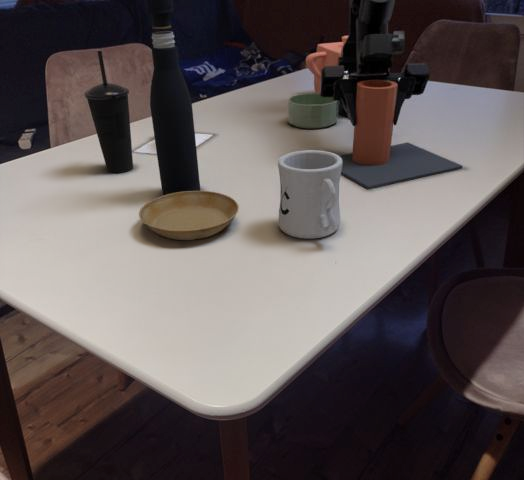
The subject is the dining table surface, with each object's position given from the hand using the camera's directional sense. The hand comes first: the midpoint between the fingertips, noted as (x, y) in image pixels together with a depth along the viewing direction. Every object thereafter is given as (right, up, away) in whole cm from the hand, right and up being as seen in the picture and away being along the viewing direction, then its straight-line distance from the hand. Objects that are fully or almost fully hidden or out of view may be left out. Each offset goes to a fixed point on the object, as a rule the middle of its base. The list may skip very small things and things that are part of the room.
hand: (374, 124), depth 103 cm
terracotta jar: (0, -4, +5) cm, 7 cm away
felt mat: (+3, -6, +4) cm, 8 cm away
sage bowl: (-8, +11, +28) cm, 31 cm away
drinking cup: (-47, -6, +7) cm, 47 cm away
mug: (-12, -23, -18) cm, 32 cm away
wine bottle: (-33, -14, -4) cm, 36 cm away
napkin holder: (-38, +3, +19) cm, 43 cm away
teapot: (+2, +23, +44) cm, 49 cm away
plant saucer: (-31, -21, -15) cm, 40 cm away
